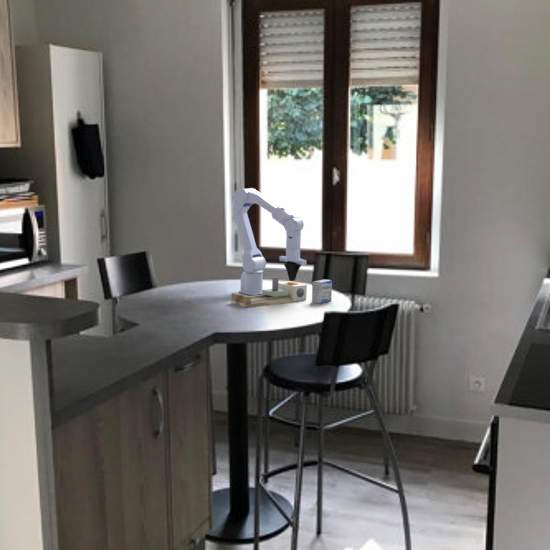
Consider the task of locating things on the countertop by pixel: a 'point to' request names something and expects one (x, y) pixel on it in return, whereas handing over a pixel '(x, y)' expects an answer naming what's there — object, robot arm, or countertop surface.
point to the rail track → (258, 300)
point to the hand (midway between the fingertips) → (292, 280)
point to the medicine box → (321, 291)
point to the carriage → (275, 290)
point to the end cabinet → (294, 290)
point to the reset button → (292, 283)
